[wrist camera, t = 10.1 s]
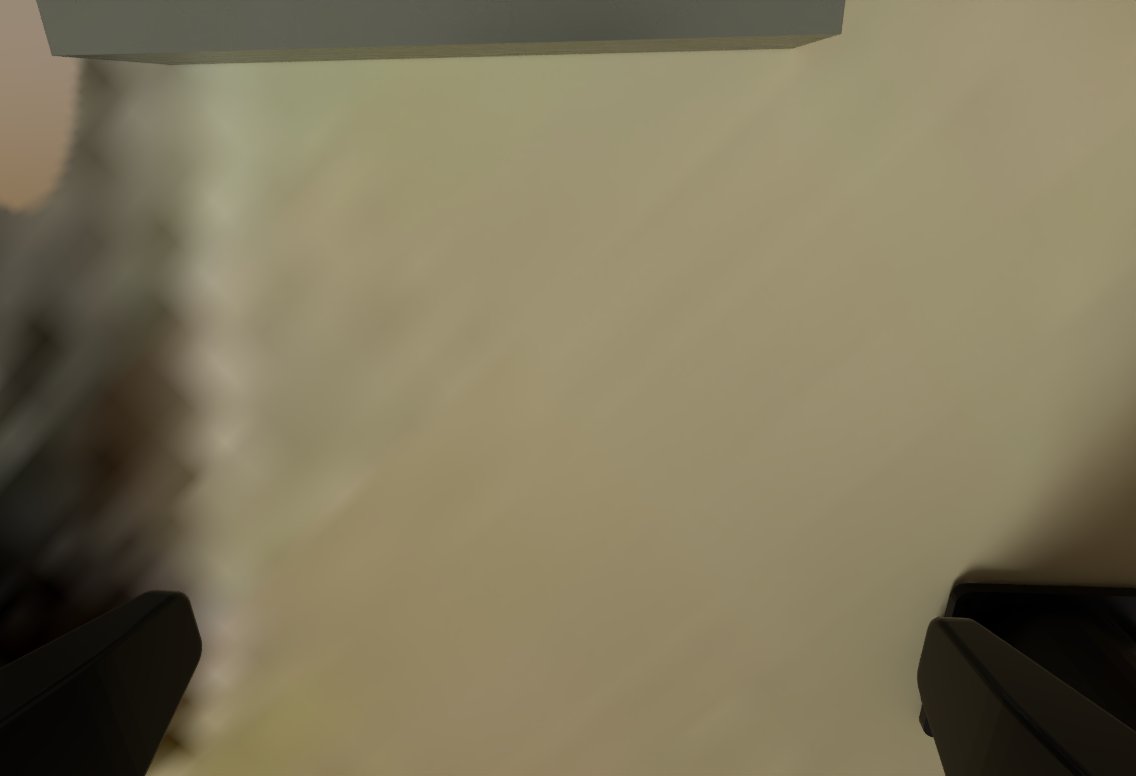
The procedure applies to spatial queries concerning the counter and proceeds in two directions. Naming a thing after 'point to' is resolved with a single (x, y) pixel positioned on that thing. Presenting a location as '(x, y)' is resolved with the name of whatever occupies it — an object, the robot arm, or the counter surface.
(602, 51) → the grey piece
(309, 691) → the counter surface
